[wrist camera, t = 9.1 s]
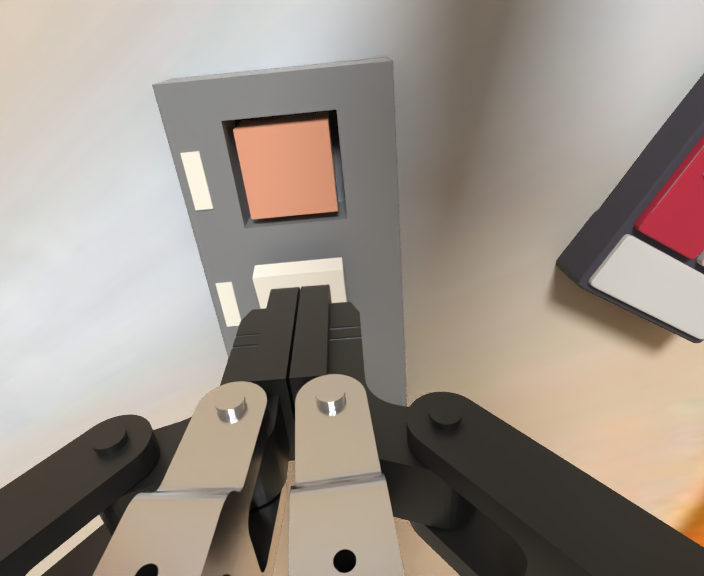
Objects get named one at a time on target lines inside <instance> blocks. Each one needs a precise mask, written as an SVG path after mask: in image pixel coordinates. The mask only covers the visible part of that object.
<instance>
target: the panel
mask: <svg viewBox="0 0 704 576" xmlns="http://www.w3.org/2000/svg"><path fill="white" fill-rule="evenodd" d="M152 86H153V89H154V93H155V96H156V100H157V104H158V107H159V111H160V114H161V118H162V121H163V125H164V129H165V132H166V136H167V139H168V143H169V147H170V150H171V154H172V157H173V161H174V165H175V168H176V172H177V175H178V179H179V182H180V186H181V190H182V193H183V197H184V200H185V204H186V208H187V211H188V215H189V218H190V222H191V225H192V229H193V233H194V236H195V240H196V243H197V247H198V251H199V254H200V258H201V261H202V265H203V268H204V272H205V276H206V279H207V283H208V286H209V290H210V294H211V297H212V301H213V304H214V308H215V311H216V315H217V319H218V322H219V326H220V329H221V333H222V337H223V340H224V344H225V347H226V351H227V355H228V358H229V356H230V353H231V349H233V343H234V340H235V338H236V334H237V330H238V327H239V324H240V321H241V320H242V319H243V318H244V317H245V316H246V315H247V314H248V313H249V312H250V311H251V310H253V309H261V308H260V304H259V301H258V297H257V294H256V290H255V286H254V283H253V279H252V277H253V272H254V267H255V265H264V264H275V263H286V262H296V261H307V260H318V259H328V258H339V257H342V262H343V270H344V279H345V287H346V296H347V302H351V303H352V304H353V305H354V306H355V307H356V309H357V310H358V311H359V312H360V322H361V335H362V347H363V359H364V372H365V381H366V384H367V387H368V388H369V390H370V391H371V392H372V393H373V394H374V395H375V396H377V397H378V398H379V399H381V400H383V401H385V402H388V403H391V404H395V405H400V406H406V407H407V402H406V377H405V352H404V327H403V303H402V278H401V253H400V228H399V204H398V179H397V154H396V129H395V105H394V80H393V61H392V60H391V59H389V58H387V57H383V58H374V59H364V60H354V61H344V62H334V63H324V64H314V65H304V66H294V67H284V68H274V69H264V70H255V71H245V72H235V73H225V74H215V75H205V76H195V77H185V78H175V79H169V80H166V81H163V82H160V83H157V84H154V85H152ZM327 110H337V120H338V130H339V140H340V150H341V160H342V170H343V180H344V190H345V200H346V202H338V211H335V212H325V213H314V214H304V215H293V216H283V217H272V218H262V219H251V214H250V209H249V204H248V200H247V195H246V190H245V185H244V180H243V176H242V171H241V166H240V161H239V156H238V152H237V147H236V142H235V137H234V132H233V129H234V128H235V122H234V120H236V119H246V118H256V117H266V116H276V115H286V114H296V113H307V112H317V111H327Z"/></svg>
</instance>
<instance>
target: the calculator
mask: <svg viewBox="0 0 704 576" xmlns="http://www.w3.org/2000/svg"><path fill="white" fill-rule="evenodd" d="M556 265H557V267H559V268H560V269H561V270H562V271H563V272H564V273H565V274H566V275H567V276H568V277H569V278H571V279H572V280H573V281H574V282H575V283H576V284H577V285H578V286H580V287H581V288H583V289H585V290H587V291H589V292H591V293H593V294H595V295H597V296H599V297H601V298H603V299H605V300H607V301H609V302H611V303H613V304H615V305H617V306H619V307H621V308H623V309H626V310H628V311H630V312H632V313H634V314H636V315H638V316H640V317H642V318H644V319H646V320H648V321H650V322H652V323H654V324H656V325H658V326H660V327H662V328H664V329H666V330H668V331H671V332H673V333H675V334H677V335H679V336H681V337H683V338H685V339H687V340H689V341H691V342H693V343H700V342H702V341H703V340H704V74H703V75H702V76H701V77H700V79H699V80H698V81H697V83H696V84H695V85H694V86H693V88H692V89H691V90H690V91H689V93H688V94H687V95H686V97H685V98H684V99H683V100H682V102H681V103H680V104H679V105H678V107H677V108H676V109H675V111H674V112H673V113H672V114H671V116H670V117H669V118H668V119H667V121H666V122H665V123H664V125H663V126H662V127H661V128H660V130H659V131H658V132H657V134H656V135H655V136H654V137H653V139H652V140H651V141H650V143H649V144H648V145H647V147H646V148H645V149H644V151H643V152H642V153H641V155H640V156H639V157H638V159H637V160H636V161H635V163H634V164H633V165H632V167H631V168H630V169H629V171H628V172H627V173H626V175H625V176H624V177H623V179H622V180H621V181H620V183H619V184H618V185H617V187H616V188H615V190H614V191H613V192H612V194H611V195H610V196H609V198H608V199H607V200H606V202H605V203H604V204H603V206H602V207H601V208H600V209H599V210H597V211H596V212H595V213H594V214H593V215H592V216H591V217H590V218H589V220H588V221H587V222H586V224H585V225H584V226H583V227H582V229H581V230H580V231H579V232H578V234H577V235H576V236H575V237H574V239H573V240H572V241H571V243H570V244H569V245H568V246H567V248H566V249H565V250H564V251H563V253H562V254H561V255H560V257H559V258H558V259H557V261H556Z"/></svg>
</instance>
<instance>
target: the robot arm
mask: <svg viewBox="0 0 704 576" xmlns="http://www.w3.org/2000/svg"><path fill="white" fill-rule="evenodd" d="M291 460H295V486H291V489H290V500H289V571H288V576H405V574H404V569H403V564H402V559H401V554H400V549H399V544H398V539H397V533H396V528H395V523H394V518H393V517H397V518H401V519H405V520H409V521H410V523H411V525H412V527H413V529H414V530H415V532H416V533H417V534H418V535H419V536H420V537H421V538H422V539H423V540H424V541H425V542H426V543H427V544H428V545H429V546H430V547H431V548H432V549H433V550H434V551H435V552H437V553H438V554H439V555H440V556H441V557H442V558H443V559H444V560H445V561H446V562H447V563H448V564H449V565H450V566H451V567H452V568H453V569H454V570H455V571H456V572H457V573H458V574H459V575H460V576H704V547H702V546H700V545H699V544H697V543H696V542H694V541H693V540H691V539H689V538H688V537H686V536H685V535H683V534H681V533H680V532H678V531H677V530H675V529H674V528H672V527H670V526H669V525H667V524H666V523H664V522H662V521H661V520H659V519H658V518H656V517H655V516H653V515H651V514H650V513H648V512H647V511H645V510H643V509H642V508H640V507H639V506H637V505H636V504H634V503H632V502H631V501H629V500H628V499H626V498H624V497H623V496H621V495H620V494H618V493H617V492H615V491H613V490H612V489H610V488H609V487H607V486H606V485H604V484H602V483H601V482H599V481H598V480H596V479H594V478H593V477H591V476H590V475H588V474H587V473H585V472H583V471H582V470H580V469H579V468H577V467H575V466H574V465H572V464H571V463H569V462H568V461H566V460H564V459H563V458H561V457H560V456H558V455H556V454H555V453H553V452H552V451H550V450H549V449H547V448H545V447H544V446H542V445H541V444H539V443H537V442H536V441H534V440H533V439H531V438H530V437H528V436H526V435H525V434H523V433H522V432H520V431H518V430H517V429H515V428H514V427H512V426H511V425H509V424H507V423H506V422H504V421H503V420H501V419H499V418H498V417H496V416H495V415H493V414H492V413H490V412H488V411H487V410H485V409H484V408H482V407H480V406H479V405H477V404H476V403H474V402H473V401H471V400H469V399H468V398H466V397H464V396H461V395H459V394H455V393H450V392H434V393H429V394H426V395H424V396H421V397H420V398H418V399H416V400H415V401H414V402H413V403H412V404H411V406H410V407H406V406H400V405H395V404H391V403H388V402H385V401H383V400H381V399H379V398H378V397H377V396H375V395H374V394H373V393H372V392H371V391H370V390H369V388H368V387H367V384H366V381H365V372H364V359H363V347H362V335H361V322H360V312H359V311H358V310H357V309H356V307H355V306H354V305H353V304H352V303H351V302H340V303H332V300H331V291H330V285H329V284H327V285H315V286H302V287H301V289H300V287H291V288H278V289H271V291H270V294H269V299H268V303H267V307H266V308H265V309H253V310H251V311H250V312H249V313H248V314H247V315H246V316H245V317H244V318H243V319H242V320H241V321H240V324H239V327H238V330H237V334H236V338H235V340H234V343H233V349H231V353H230V356H229V359H228V362H227V365H226V368H225V372H224V375H223V378H222V381H221V384H220V386H219V387H217V388H215V389H213V390H212V391H210V392H209V393H207V394H206V395H205V396H204V397H203V398H202V399H201V401H200V402H199V403H198V405H197V407H196V409H195V411H194V414H193V416H192V417H190V418H188V419H186V420H183V421H181V422H178V423H174V424H171V425H168V426H165V427H162V428H159V429H156V430H153V429H152V427H151V425H150V423H149V421H147V420H146V419H145V418H143V417H141V416H138V415H122V416H117V417H113V418H110V419H108V420H105V421H103V422H101V423H99V424H97V425H96V426H94V427H92V428H91V429H89V430H88V431H86V432H85V433H83V434H82V435H81V436H79V437H78V438H76V439H75V440H73V441H72V442H70V443H69V444H67V445H66V446H64V447H63V448H61V449H60V450H58V451H57V452H55V453H54V454H52V455H51V456H49V457H48V458H46V459H45V460H43V461H42V462H40V463H39V464H37V465H36V466H34V467H33V468H31V469H30V470H28V471H27V472H25V473H24V474H22V475H21V476H19V477H18V478H16V479H15V480H13V481H12V482H10V483H9V484H7V485H6V486H4V487H3V488H1V489H0V576H25V575H26V574H27V573H28V572H29V571H30V570H31V569H32V568H33V567H34V566H36V565H37V564H38V563H39V562H41V561H42V560H43V559H44V558H45V557H47V556H48V555H49V554H50V553H52V552H53V551H54V550H55V549H57V548H58V547H59V546H60V545H62V544H63V543H64V542H65V541H67V540H68V539H69V538H70V537H71V536H73V535H74V534H75V533H76V532H78V531H79V530H80V529H81V528H83V527H84V526H85V525H86V524H88V523H89V522H90V521H91V520H92V519H94V518H95V517H96V516H97V515H100V517H101V519H102V520H103V522H104V524H103V525H102V526H100V527H99V528H98V529H97V530H96V531H94V532H93V533H92V534H91V535H90V536H88V537H87V538H86V539H85V540H83V541H82V542H81V543H80V544H79V545H77V546H76V547H75V548H74V549H73V550H71V551H70V552H69V553H68V554H67V555H65V556H64V557H63V558H62V559H61V560H59V561H58V562H57V563H56V564H55V565H53V566H52V567H51V568H50V569H48V570H47V571H46V572H45V573H44V574H42V575H41V576H272V575H273V569H274V564H275V558H276V553H277V548H278V542H279V537H280V531H281V526H282V521H283V515H284V510H285V504H286V499H287V484H286V478H287V469H288V461H291Z"/></svg>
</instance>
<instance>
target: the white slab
mask: <svg viewBox="0 0 704 576" xmlns="http://www.w3.org/2000/svg"><path fill="white" fill-rule="evenodd" d="M252 279H253V283H254V286H255V290H256V294H257V297H258V301H259V304H260V308H261V309H265V308H266V307H267V303H268V299H269V294H270V291H271V289H278V288H291V287H300V289H301V287H302V286H315V285H327V284H329V285H330V291H331V300H332V303H340V302H347V296H346V287H345V279H344V270H343V262H342V257H339V258H328V259H318V260H307V261H296V262H286V263H275V264H264V265H255V267H254V272H253V277H252Z"/></svg>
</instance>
